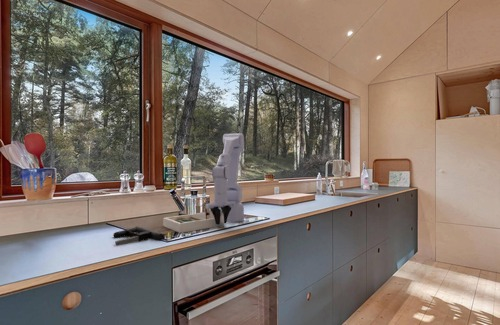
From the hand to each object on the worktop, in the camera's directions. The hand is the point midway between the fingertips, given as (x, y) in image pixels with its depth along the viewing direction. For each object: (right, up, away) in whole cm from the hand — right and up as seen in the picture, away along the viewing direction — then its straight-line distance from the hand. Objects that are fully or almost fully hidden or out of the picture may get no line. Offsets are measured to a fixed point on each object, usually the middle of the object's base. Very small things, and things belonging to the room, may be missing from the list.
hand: (221, 223), depth 128 cm
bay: (-13, -2, +4) cm, 14 cm away
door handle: (-31, -3, -18) cm, 36 cm away
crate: (-15, -2, +2) cm, 16 cm away
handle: (0, -2, 0) cm, 2 cm away
